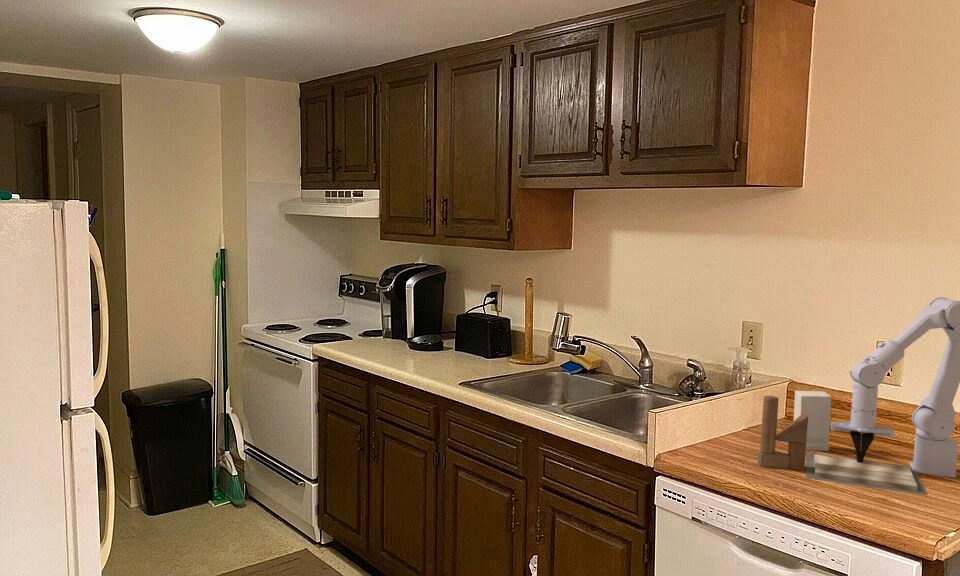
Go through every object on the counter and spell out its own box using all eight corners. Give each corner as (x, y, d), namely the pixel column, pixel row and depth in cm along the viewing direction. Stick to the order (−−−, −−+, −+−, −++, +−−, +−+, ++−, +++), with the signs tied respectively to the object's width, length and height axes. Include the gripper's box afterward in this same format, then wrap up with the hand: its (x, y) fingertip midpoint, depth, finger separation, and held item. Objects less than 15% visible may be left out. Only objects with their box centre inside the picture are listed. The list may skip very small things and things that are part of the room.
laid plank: (912, 481, 192) (913, 476, 192) (916, 491, 185) (917, 485, 185) (814, 467, 200) (814, 462, 200) (815, 476, 193) (815, 471, 193)
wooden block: (804, 471, 198) (809, 400, 196) (760, 468, 200) (764, 398, 198) (800, 466, 202) (805, 397, 200) (757, 463, 203) (761, 394, 202)
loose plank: (814, 467, 200) (814, 462, 200) (814, 458, 208) (814, 453, 208) (912, 480, 192) (913, 475, 192) (908, 470, 200) (909, 466, 200)
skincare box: (821, 445, 221) (825, 390, 220) (829, 452, 215) (833, 396, 213) (790, 443, 222) (794, 389, 221) (797, 450, 216) (801, 394, 214)
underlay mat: (915, 468, 203) (915, 467, 203) (927, 496, 182) (927, 495, 182) (805, 454, 212) (805, 453, 212) (806, 479, 192) (806, 477, 192)
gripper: (833, 409, 200) (829, 461, 201) (897, 416, 195) (893, 469, 196) (832, 403, 207) (828, 453, 208) (894, 409, 201) (890, 461, 202)
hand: (859, 461), depth 202 cm, fingers closed
